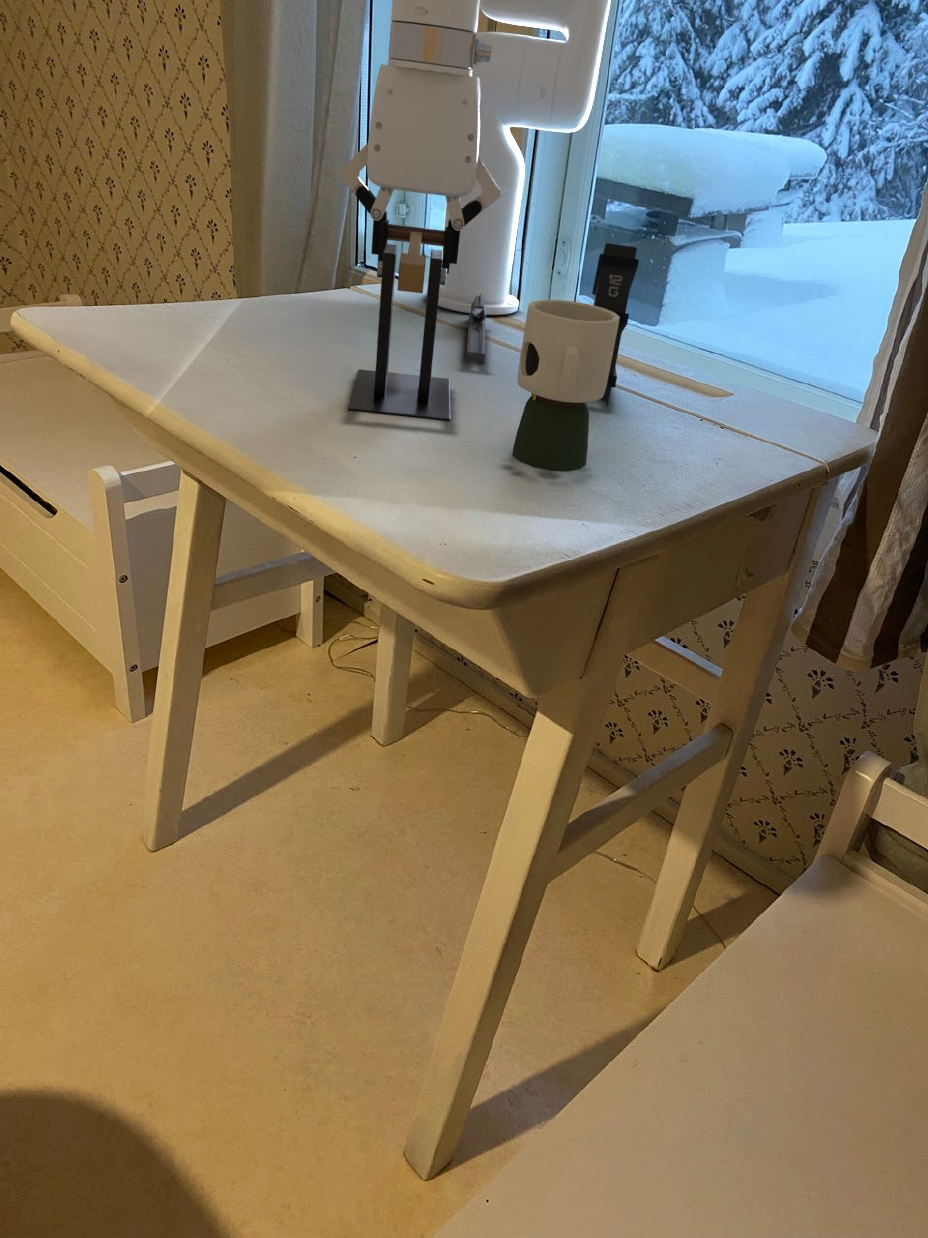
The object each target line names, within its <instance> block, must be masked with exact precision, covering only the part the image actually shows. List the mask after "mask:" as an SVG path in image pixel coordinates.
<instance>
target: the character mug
mask: <svg viewBox="0 0 928 1238" xmlns="http://www.w3.org/2000/svg"><path fill="white" fill-rule="evenodd" d="M619 318H620V317H619V316H618V315H617V314H616V313H614V312H612V311H609V310H607V309H604V308H601V307H597V306H594V305H593V304H589V303H583V302H578V301H572V300H561V299H539V300H534V301H531V302H529V303H528V305H527V311H526V317H525V324H524V332H523V338H522V343H521V344H522V345H521V349H520V356H519V365H518V372H517V384H518V386H519V387H521V389H523V390H525V391H528V392H529V393H530V396H529V398H528V399H527V401H526V402H525V404H524V408H523V411H522V414H521V417H520V421H519V424H518V428H517V431H516V435H515V440H514V442H513V447H512V450H513V452H512V457H514V458H515V459H516V460H517V461H519V462H520V463H522V464H524V465H527V466H529V467H531V468H534V469H539V470H542V471H543V470H544V471H548V472H562V473H563V472H566V473H567V472H574V471H578V470H581V469H582V468H584V466H586V465H587V457H588V450H589V449H588V448H589V429H590V427H589V426H590V412H589V408H588V405H587V403H591V402H592V403H593V402H596V401H600V400H599V399H602V397H603V395H604V393H605V389H606V386H607V381H608V375H609V370H610V365H611V360H612V355H613V350H614V345H615V340H616V335H617V330H618V325H619Z"/></svg>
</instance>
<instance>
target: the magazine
mask: <svg viewBox="0 0 928 1238" xmlns="http://www.w3.org/2000/svg"><path fill="white" fill-rule="evenodd" d="M603 247H604V248H603V252H602V253H600V254H599V256H598V260H597V267H596V270H595V271H596V272H595V276H594V281H593V286H592V292H591V295H594V299H593V304H592V305H594V306H597V307H601V308H604V309H607V310H609V311H612V312H614V313H616V314H617V315H618V316H619V317H620V318H619V325H618V330H617V335H616V340H615V345H614V350H613V355H612V360H611V365H610V370H609V375H608V381H607V386H606V389H605V393H604V395H603V397H602V399H599V400H598V401H601V402H604V403H605V406H606V407H607V408H608V406H609V401H610V398H611V397H610V396H611V391H612V388H616V385H617V380H618V375H617V368H616V367H617V366H616V365H617V360H618V356H619V350H620V344H621V340H622V339H621V338H622V335H623V332H624V330H625V328H626V327H627V326H628V323H629V317H630V313H627V307H628V301H629V296H630V291H631V288H632V286H633V282H634V280H635V277H636V273H637V271H638V268H639V264H640V263H639V262H640V259H638V258H636V257H637V253H638V252H637V251H638V248H637V247H635V246H630V245H622V244H617V243H610V242H608V243H605V244H604V246H603Z"/></svg>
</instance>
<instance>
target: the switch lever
mask: <svg viewBox="0 0 928 1238" xmlns="http://www.w3.org/2000/svg"><path fill="white" fill-rule="evenodd" d="M387 240H388V241H392V242H402V243H408V249H407V252H401V253H400V256H399V257H400V258H399V265H398V277H397V291H399V292H407V293H415V294H423V293H424V283H425V273H426V262H427V261H426V260H427V256H426V255H423V254H421V250H422V245H428V246H434V247H435V246H436V247H443V246H444V241H445V231H444V229H435V228H427V227H418V226H411V225H410V226H409V225H403V224H393V223H389V224H388V233H387Z"/></svg>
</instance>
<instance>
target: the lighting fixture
mask: <svg viewBox="0 0 928 1238" xmlns="http://www.w3.org/2000/svg"><path fill="white" fill-rule="evenodd" d="M475 308H479V309H481V308H482V309H483V310H482V311H481V312H480V313H476V312H474V309H475ZM486 318H487V315H486V306H485V303H484V297H481V294H480V295H479V296H475V299H474V301H473V303H472V305H471V312H469V313H468V330H467V331H468V332H467V345H466V355H465V362H468V363H477V364H485V362H486V357H487V356H486Z"/></svg>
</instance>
